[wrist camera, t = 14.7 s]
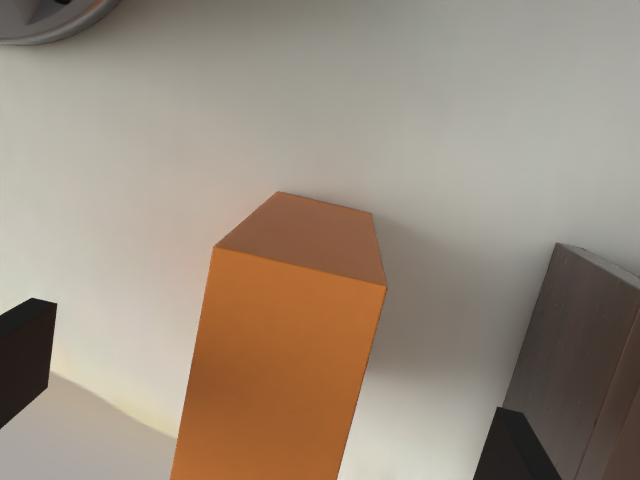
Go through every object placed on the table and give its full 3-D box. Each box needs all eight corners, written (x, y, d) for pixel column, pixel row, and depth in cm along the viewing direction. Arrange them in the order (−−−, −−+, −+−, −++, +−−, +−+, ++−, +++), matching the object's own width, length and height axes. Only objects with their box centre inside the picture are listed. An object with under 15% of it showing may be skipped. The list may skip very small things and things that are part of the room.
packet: (244, 349, 30) (162, 517, 17) (277, 191, 28) (213, 245, 15) (332, 370, 30) (317, 554, 17) (371, 212, 28) (388, 286, 15)
